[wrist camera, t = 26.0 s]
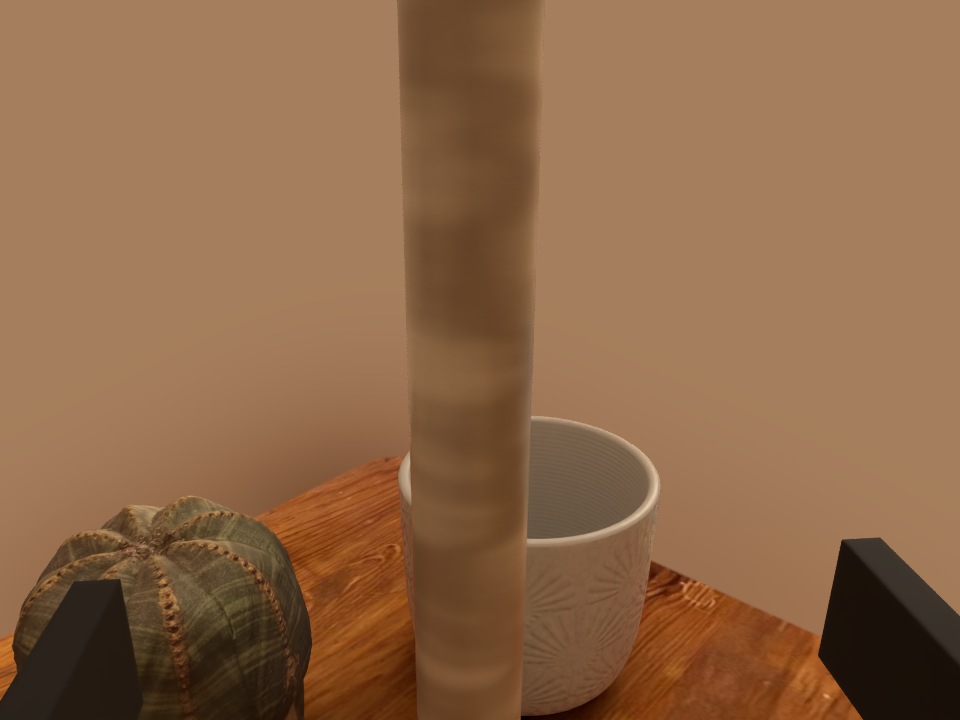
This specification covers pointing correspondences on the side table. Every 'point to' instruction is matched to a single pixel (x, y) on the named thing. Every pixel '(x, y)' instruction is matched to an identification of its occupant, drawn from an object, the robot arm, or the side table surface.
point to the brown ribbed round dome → (192, 609)
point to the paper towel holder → (470, 338)
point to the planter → (575, 559)
